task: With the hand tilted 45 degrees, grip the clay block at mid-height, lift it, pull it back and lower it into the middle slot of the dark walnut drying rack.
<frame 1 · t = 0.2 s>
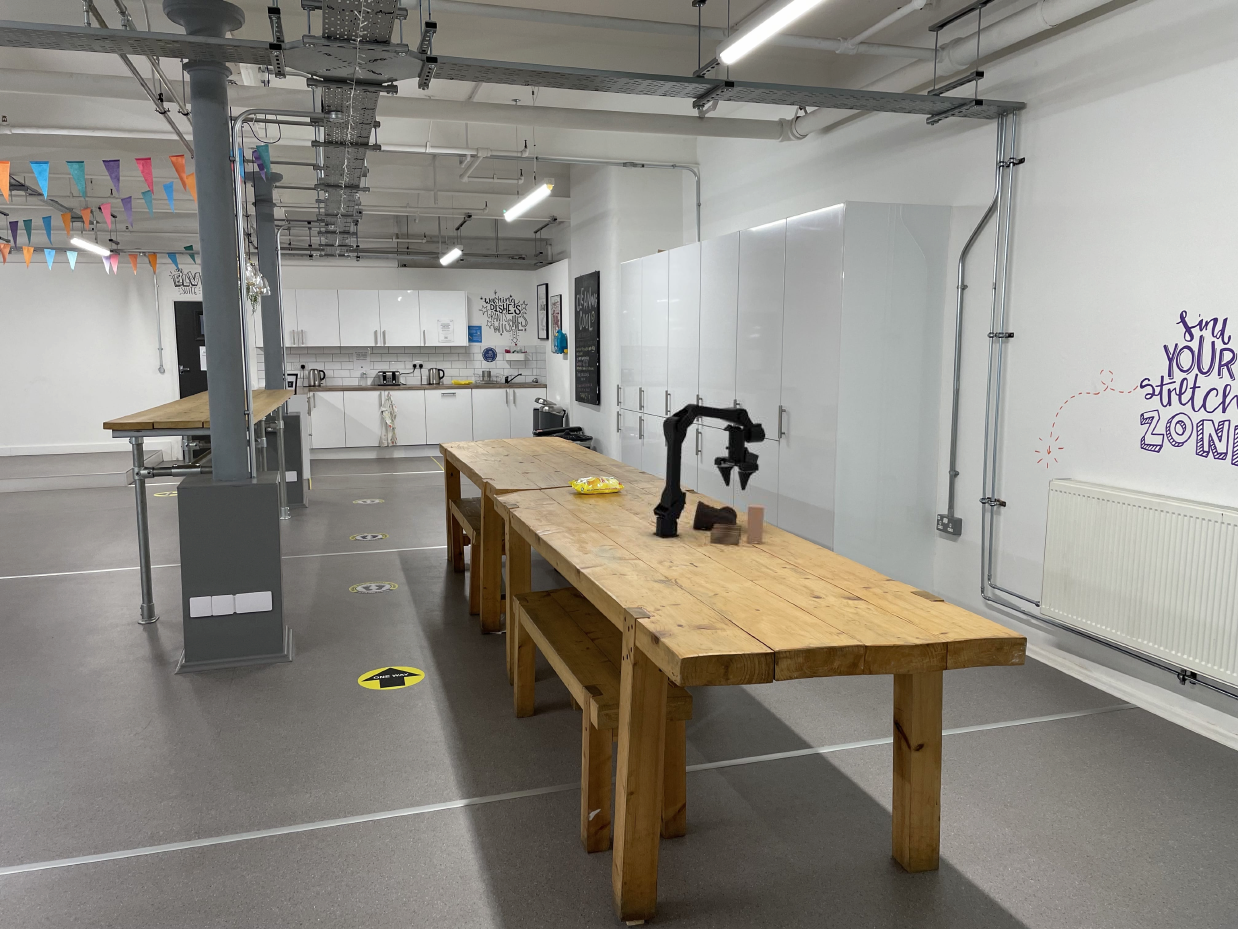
hand: (735, 488, 301), 15 cm above the table, tool pointing down, fingers open, 9 cm apart
rack: (725, 539, 285), on the table
clay block: (754, 542, 283), on the table
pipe: (715, 528, 306), on the table
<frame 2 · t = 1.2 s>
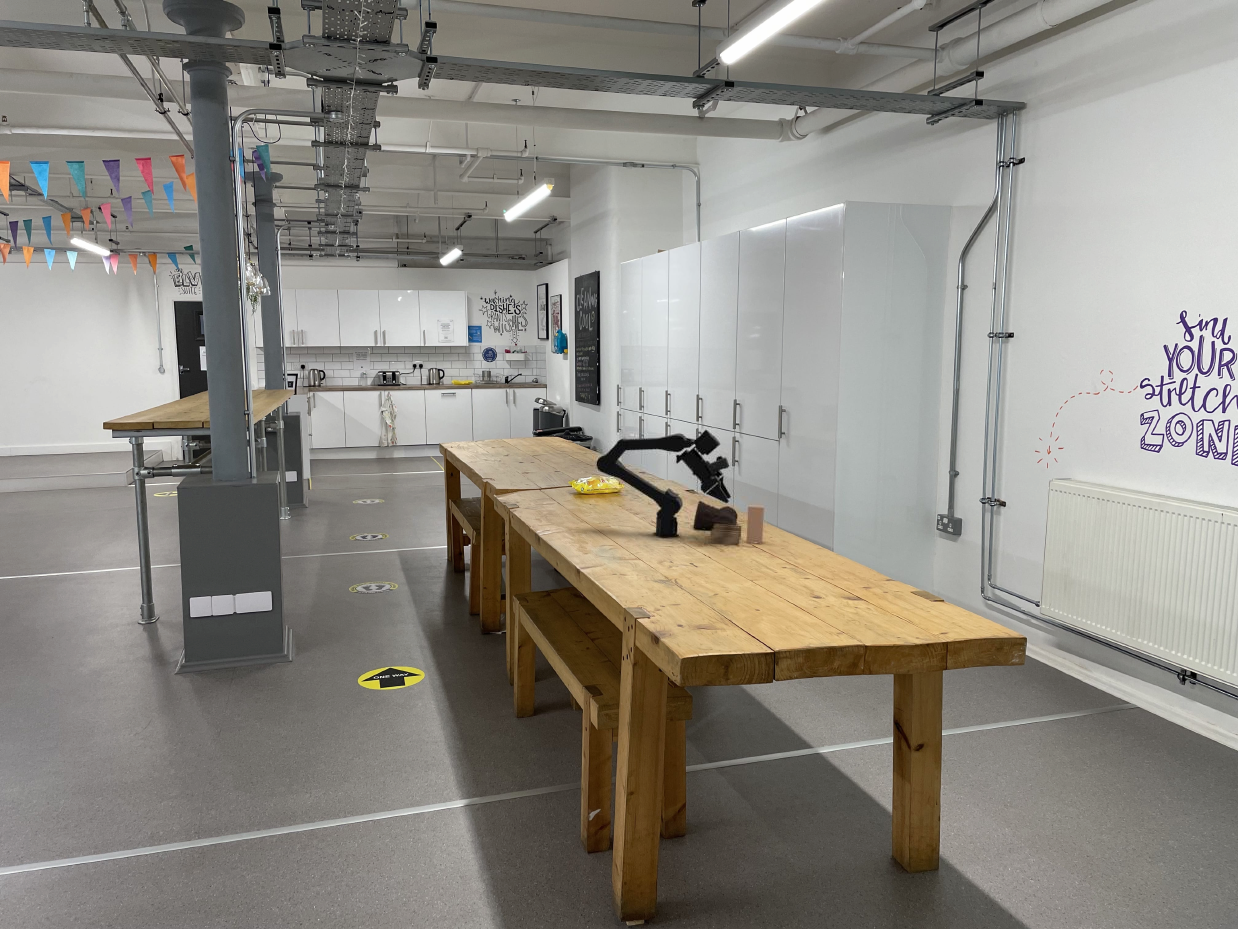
hand: (728, 500, 284), 13 cm above the table, tool tilted 45°, fingers open, 9 cm apart
nothing on the table moved.
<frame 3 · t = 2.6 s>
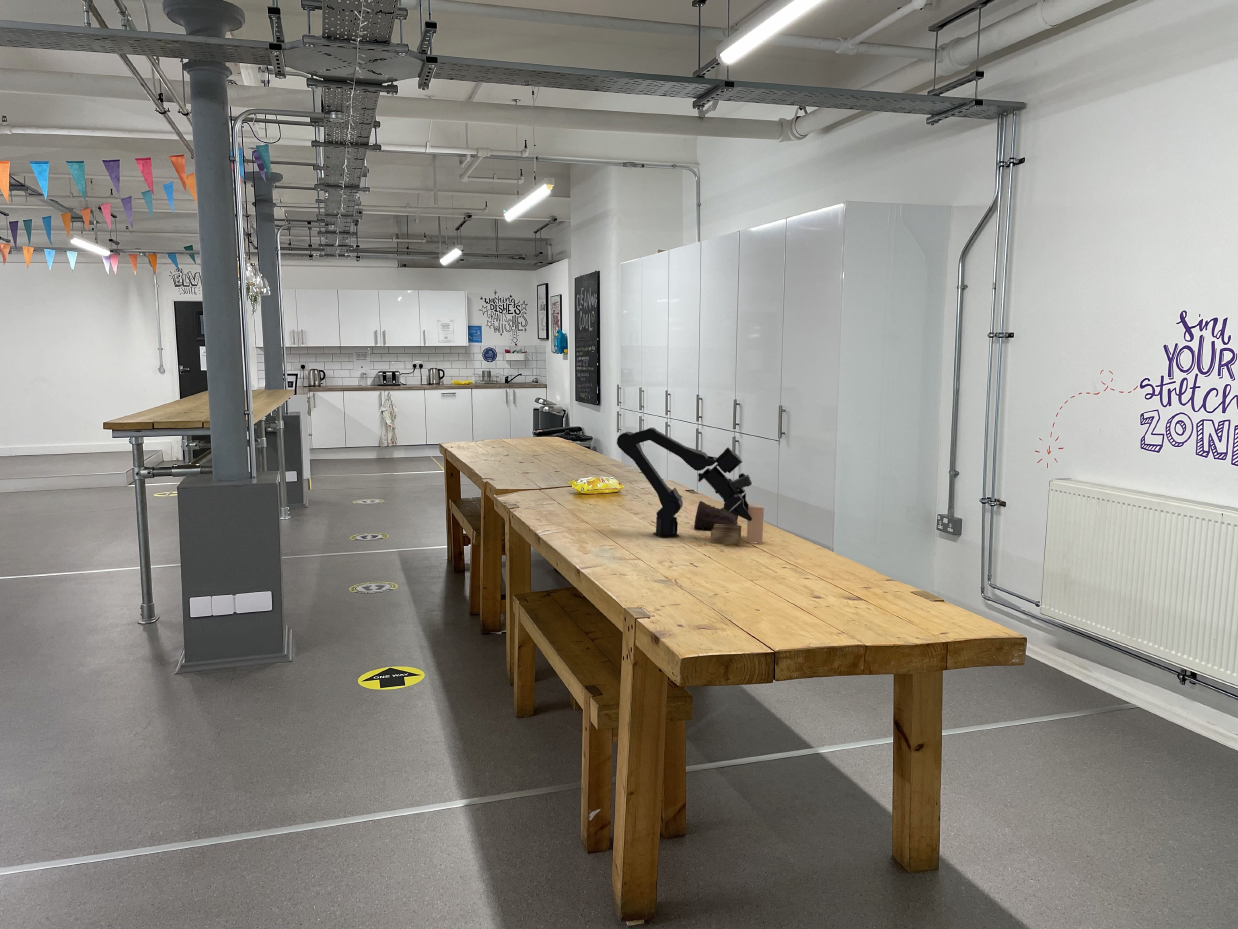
hand: (752, 517, 283), 8 cm above the table, tool tilted 45°, fingers open, 9 cm apart
nothing on the table moved.
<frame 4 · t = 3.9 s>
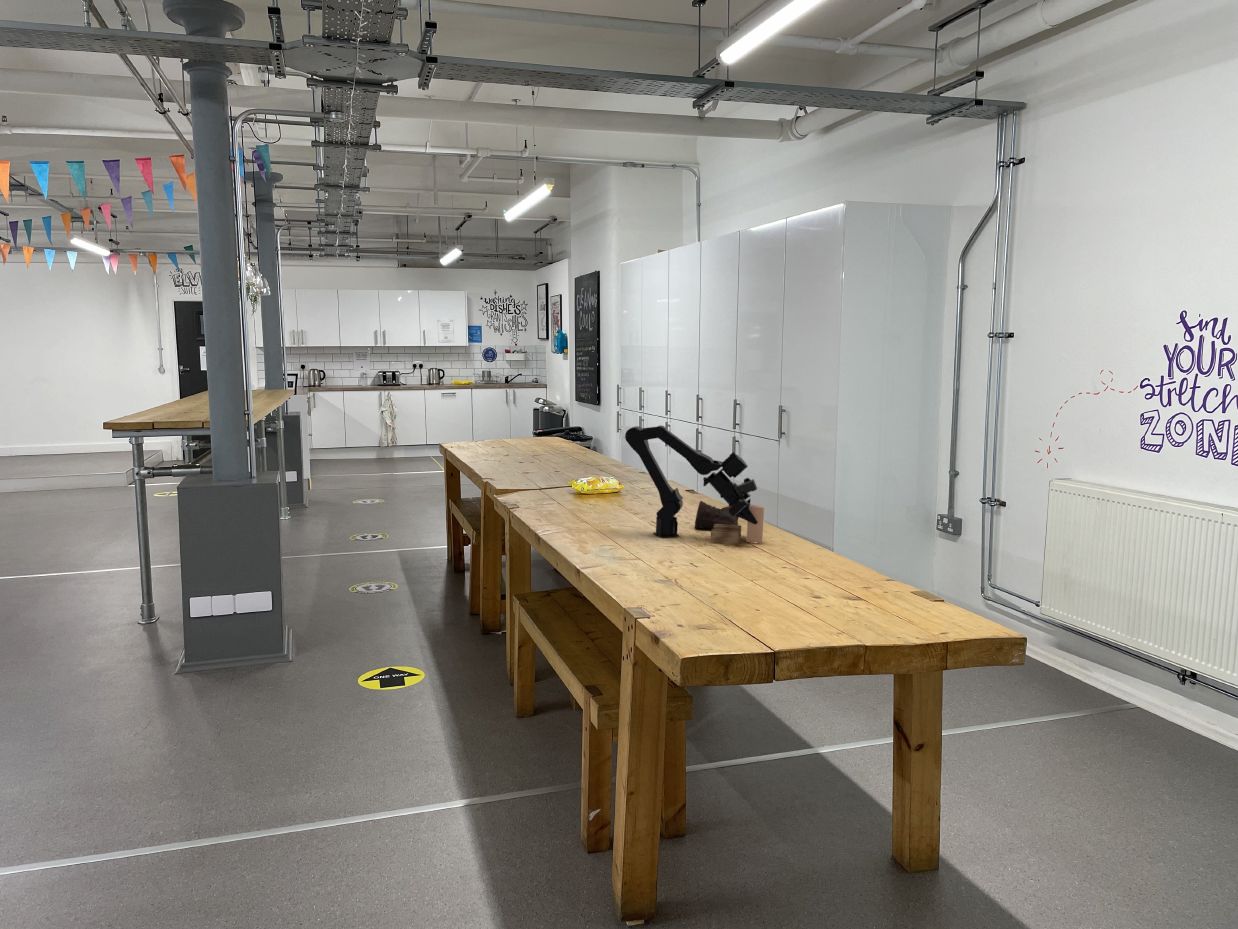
hand: (757, 522, 283), 7 cm above the table, tool tilted 45°, fingers closed on clay block, 4 cm apart
clay block: (754, 542, 284), on the table, touching gripper
everything else where it was.
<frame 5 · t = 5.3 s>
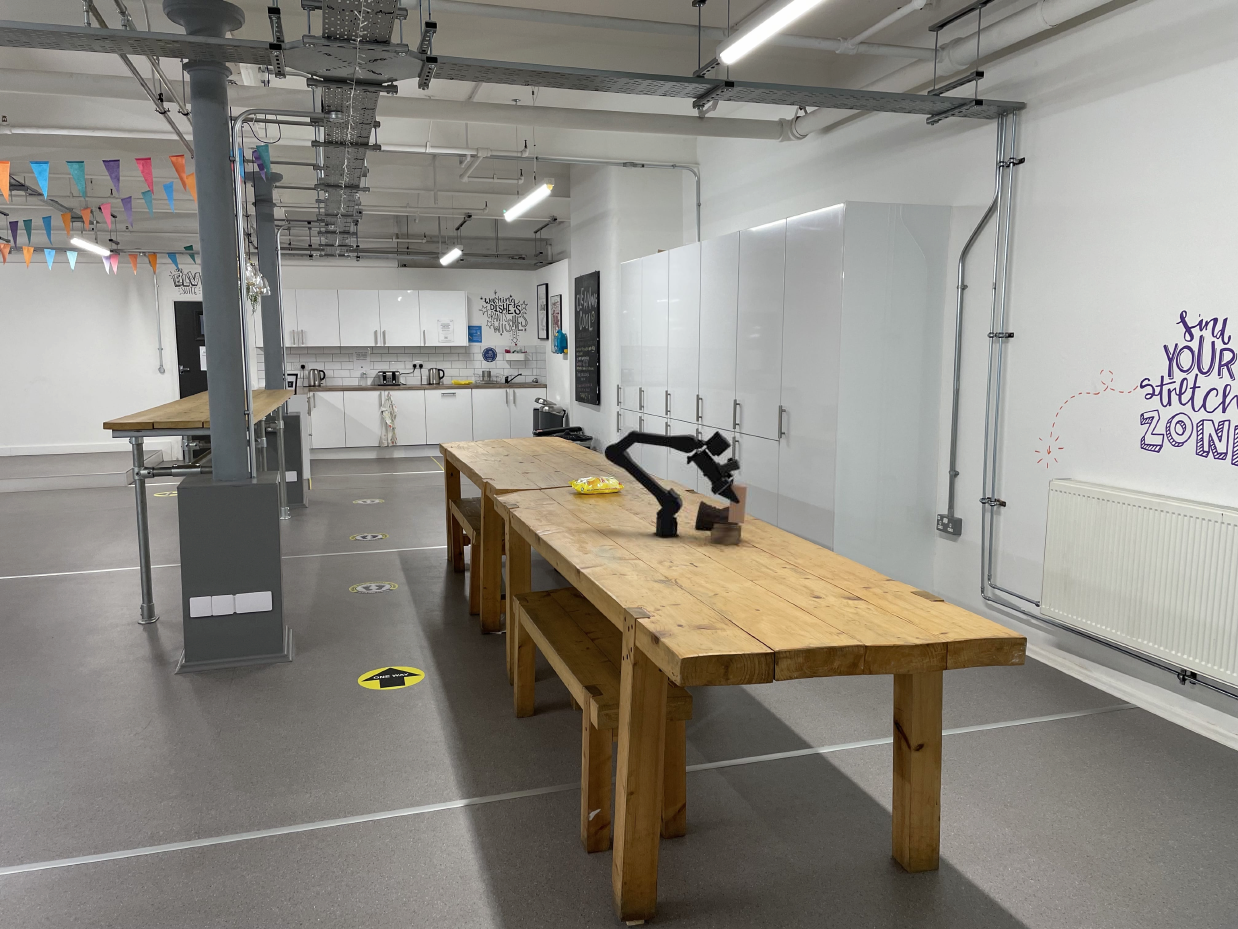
hand: (739, 501, 283), 13 cm above the table, tool tilted 45°, fingers closed on clay block, 4 cm apart
clay block: (736, 521, 284), point 6 cm above the table, touching gripper
everything else where it was.
when the fingers open (8 cm above the table, at t = 6.9 s): clay block stays where it is, resting on rack.
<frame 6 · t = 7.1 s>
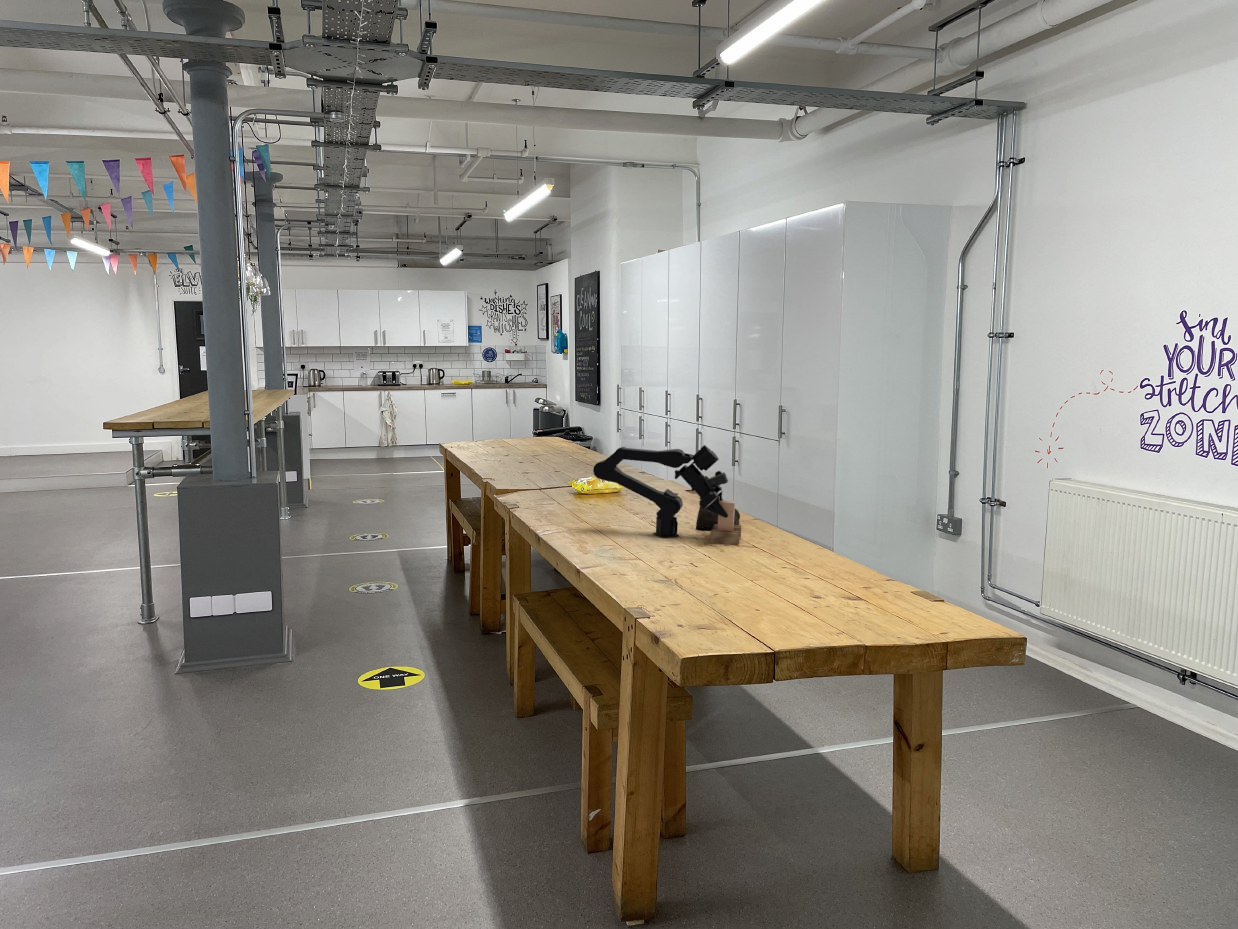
hand: (727, 515, 284), 8 cm above the table, tool tilted 45°, fingers open, 6 cm apart
clay block: (725, 537, 285), point 1 cm above the table, touching rack
everything else where it was.
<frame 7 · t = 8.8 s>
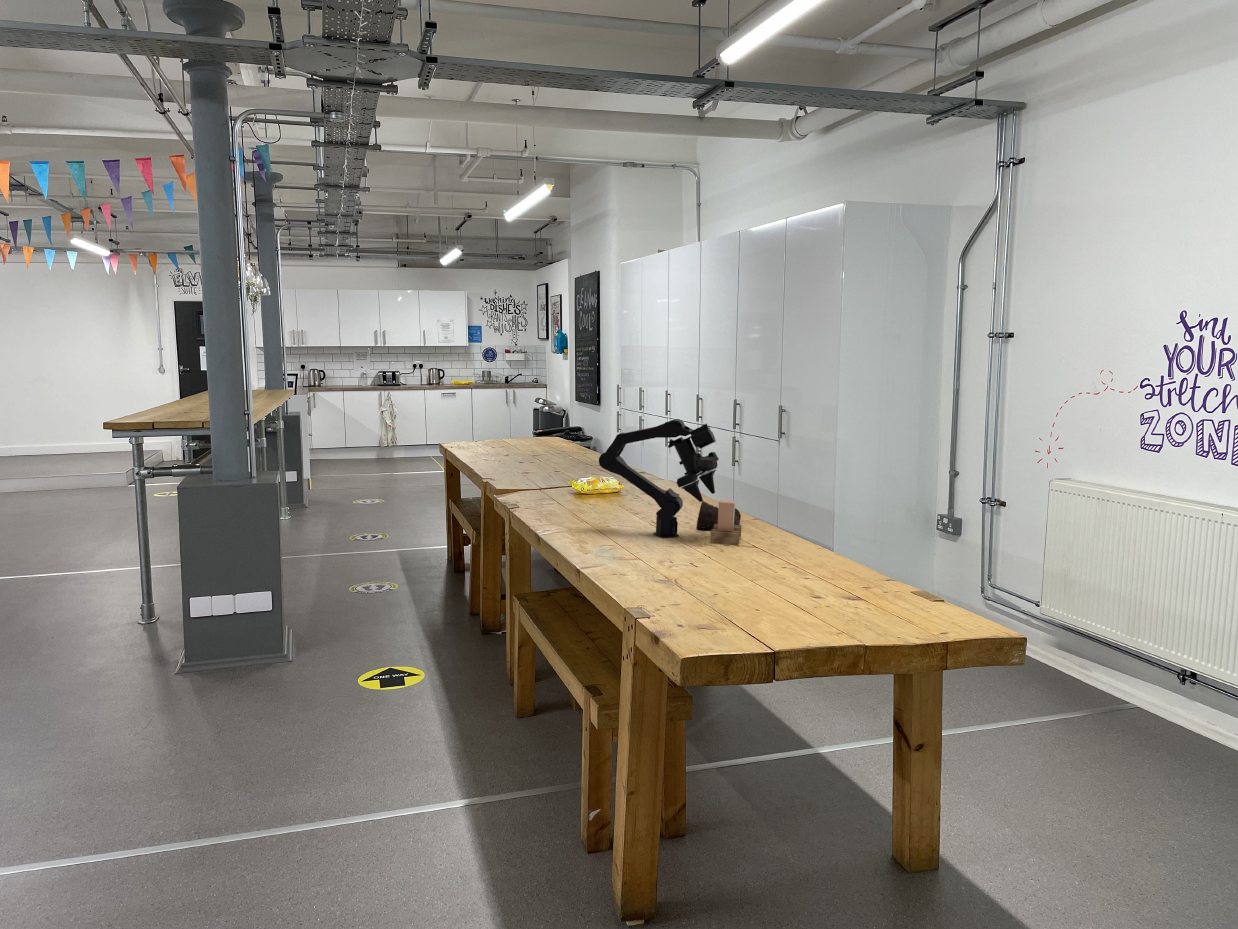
hand: (707, 497, 285), 14 cm above the table, tool tilted 30°, fingers open, 9 cm apart
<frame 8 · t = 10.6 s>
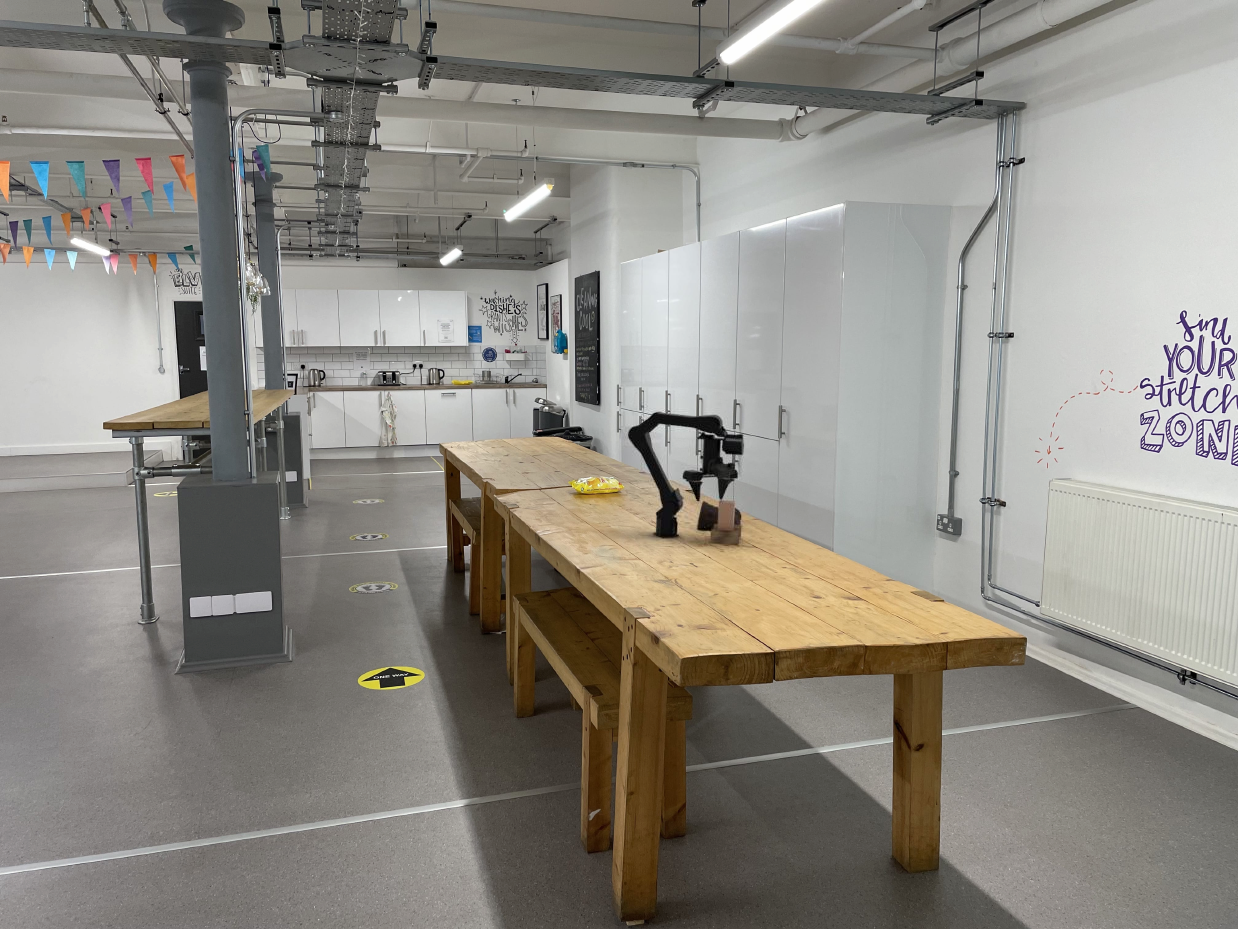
hand: (709, 500, 284), 13 cm above the table, tool pointing down, fingers open, 9 cm apart
at the end: clay block 0.2 cm off-centre on the rack, point 0.8 cm above the rack's base; clay block tilted 0°; the gripper is holding nothing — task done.
